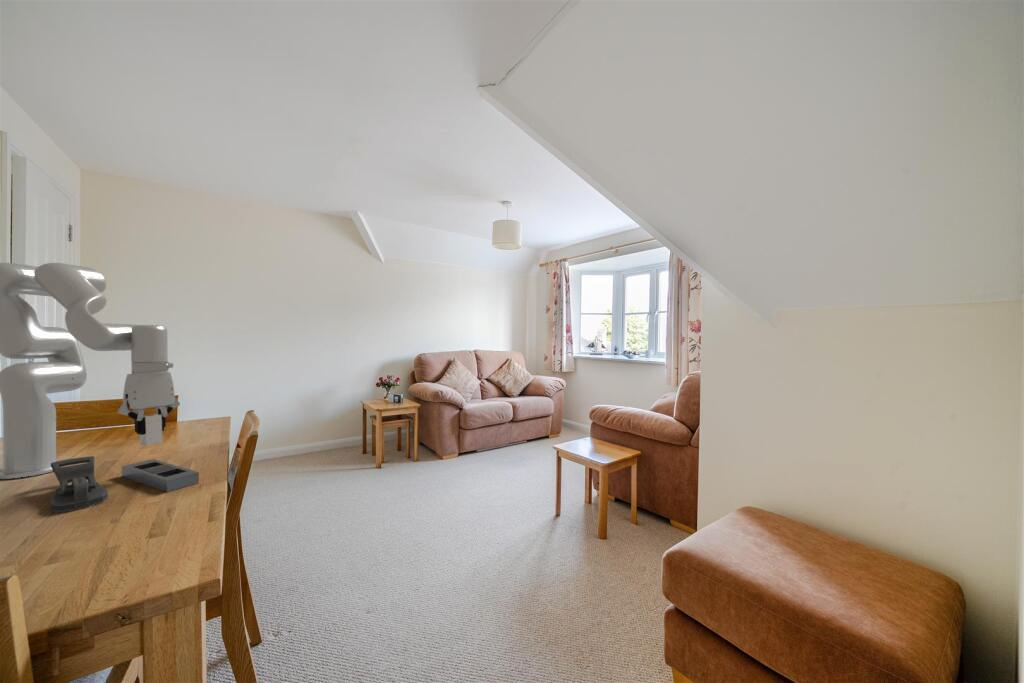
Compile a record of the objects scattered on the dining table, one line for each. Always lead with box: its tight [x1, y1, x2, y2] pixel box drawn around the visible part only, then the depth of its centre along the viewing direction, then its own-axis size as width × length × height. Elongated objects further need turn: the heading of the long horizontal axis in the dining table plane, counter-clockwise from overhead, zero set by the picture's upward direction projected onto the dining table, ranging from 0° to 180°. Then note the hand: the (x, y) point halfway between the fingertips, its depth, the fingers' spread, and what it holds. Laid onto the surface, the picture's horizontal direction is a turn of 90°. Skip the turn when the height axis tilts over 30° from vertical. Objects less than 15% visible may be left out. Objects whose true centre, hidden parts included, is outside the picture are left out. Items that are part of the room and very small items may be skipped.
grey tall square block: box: [139, 413, 163, 446], centre depth 109 cm, size 4×4×8 cm
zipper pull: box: [50, 455, 109, 514], centre depth 96 cm, size 9×7×25 cm
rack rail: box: [121, 458, 200, 493], centre depth 107 cm, size 24×7×3 cm, turn 65°
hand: (150, 431), depth 109 cm, fingers closed on grey tall square block, 3 cm apart
